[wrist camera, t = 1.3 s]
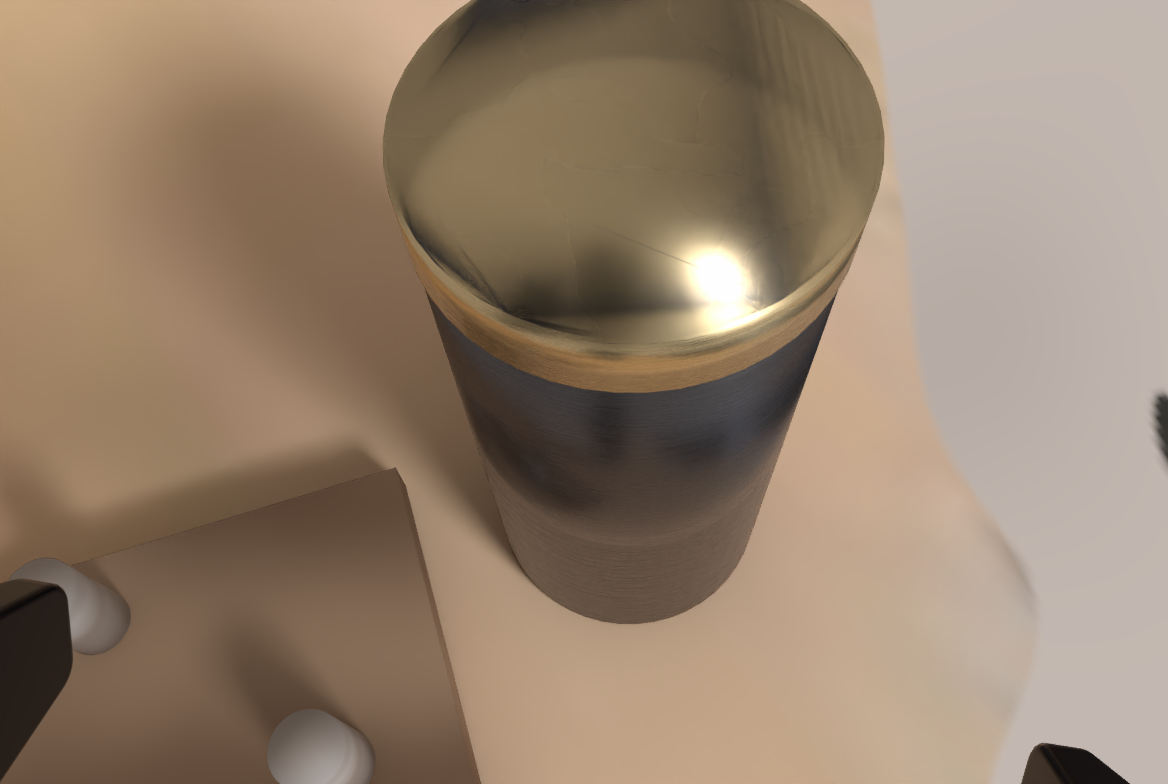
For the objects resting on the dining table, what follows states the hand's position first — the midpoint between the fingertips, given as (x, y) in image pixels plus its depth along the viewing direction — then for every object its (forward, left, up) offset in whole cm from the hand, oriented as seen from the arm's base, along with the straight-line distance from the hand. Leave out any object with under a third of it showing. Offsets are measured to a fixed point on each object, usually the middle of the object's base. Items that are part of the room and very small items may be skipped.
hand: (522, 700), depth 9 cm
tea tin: (+6, -3, -13) cm, 15 cm away
